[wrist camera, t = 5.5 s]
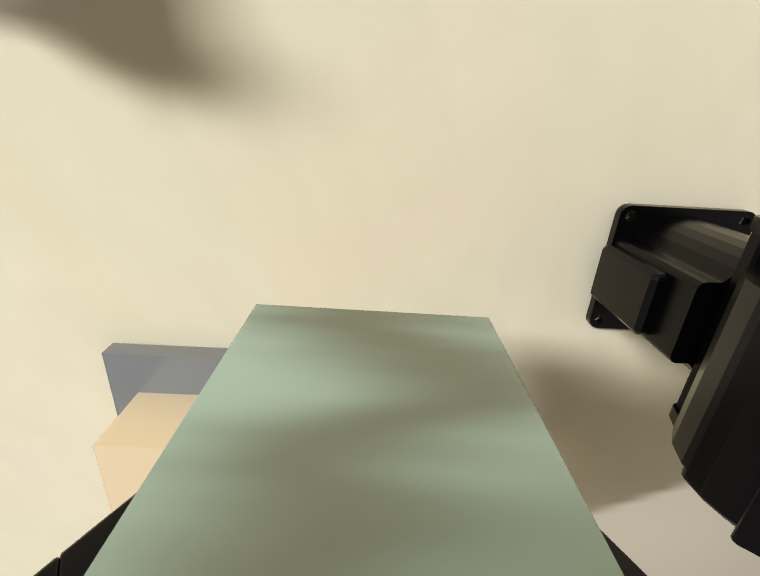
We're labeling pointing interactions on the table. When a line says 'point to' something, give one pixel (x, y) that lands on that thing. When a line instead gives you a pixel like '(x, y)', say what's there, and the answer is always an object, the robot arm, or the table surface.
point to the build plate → (157, 369)
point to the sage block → (359, 461)
